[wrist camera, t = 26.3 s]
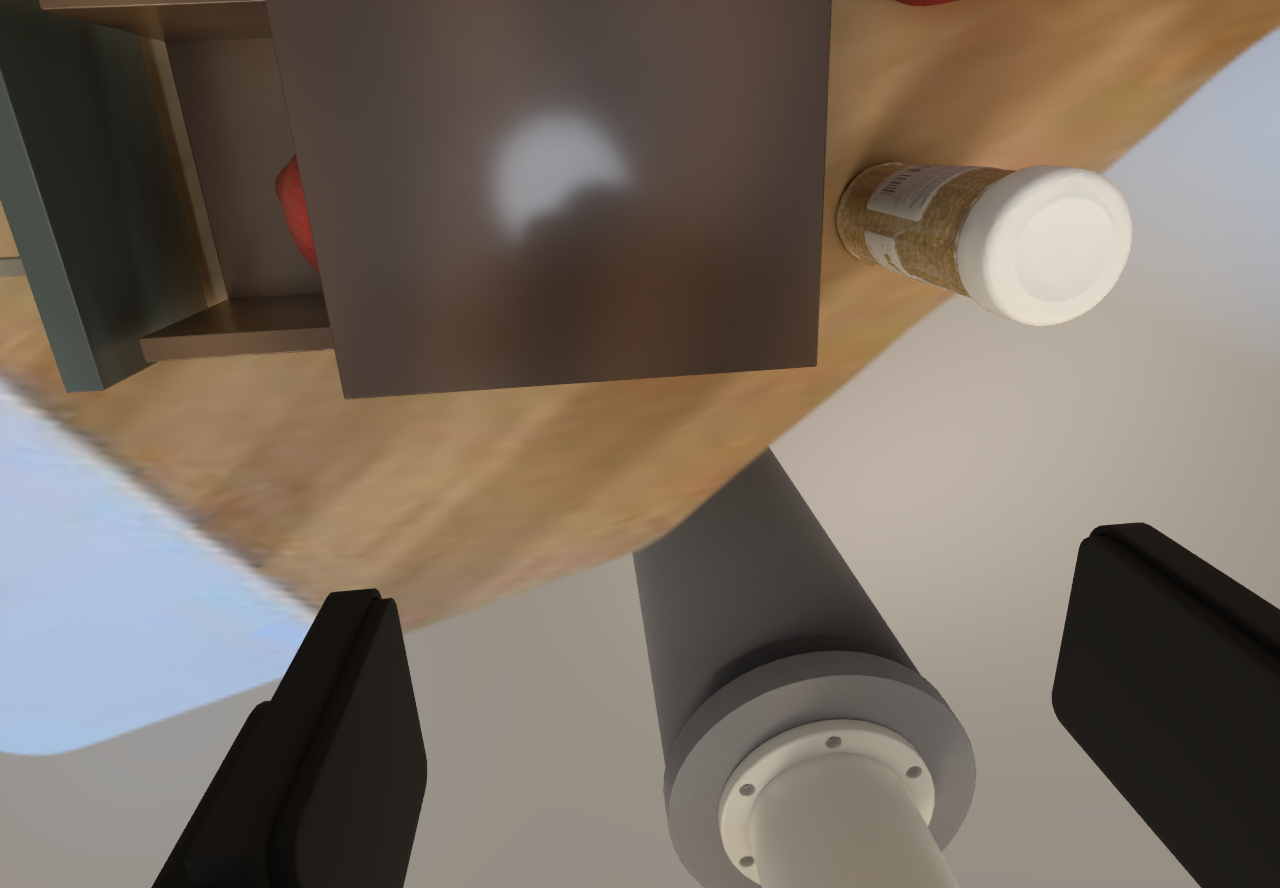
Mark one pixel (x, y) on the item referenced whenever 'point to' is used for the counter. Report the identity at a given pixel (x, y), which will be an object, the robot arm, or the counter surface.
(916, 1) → the paper cup
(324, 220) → the cabinet
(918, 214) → the sprinkles bottle
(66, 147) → the drawer
